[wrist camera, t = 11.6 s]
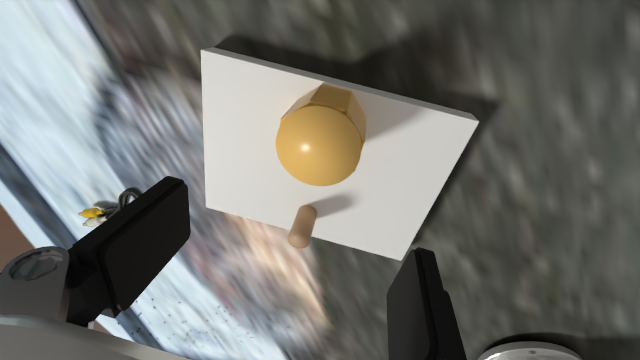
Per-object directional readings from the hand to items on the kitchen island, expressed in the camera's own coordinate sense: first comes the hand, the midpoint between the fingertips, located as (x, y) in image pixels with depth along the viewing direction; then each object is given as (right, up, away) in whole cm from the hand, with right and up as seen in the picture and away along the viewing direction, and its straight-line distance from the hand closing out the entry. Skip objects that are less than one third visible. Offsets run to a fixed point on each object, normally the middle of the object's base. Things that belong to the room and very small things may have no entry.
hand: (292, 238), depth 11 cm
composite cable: (-25, -1, +25) cm, 35 cm away
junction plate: (+1, +4, +15) cm, 16 cm away
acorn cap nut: (+2, +7, +11) cm, 13 cm away
